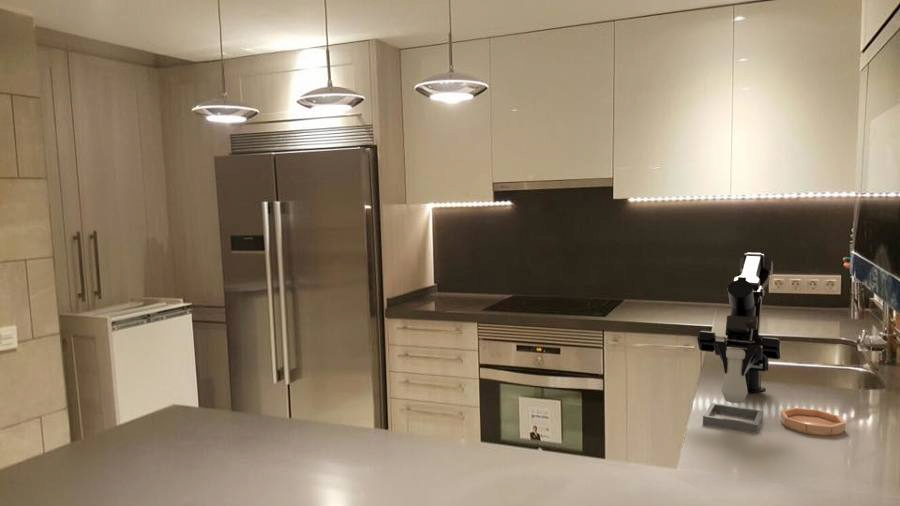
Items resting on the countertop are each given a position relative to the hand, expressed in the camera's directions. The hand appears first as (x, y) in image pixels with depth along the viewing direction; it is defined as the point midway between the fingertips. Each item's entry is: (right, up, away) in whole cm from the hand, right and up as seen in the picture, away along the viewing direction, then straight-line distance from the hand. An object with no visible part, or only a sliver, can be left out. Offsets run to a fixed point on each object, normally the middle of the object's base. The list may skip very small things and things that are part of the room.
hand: (734, 373), depth 153 cm
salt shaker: (+1, -7, +2) cm, 7 cm away
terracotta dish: (+18, -12, -1) cm, 22 cm away
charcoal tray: (+1, -12, +2) cm, 12 cm away
